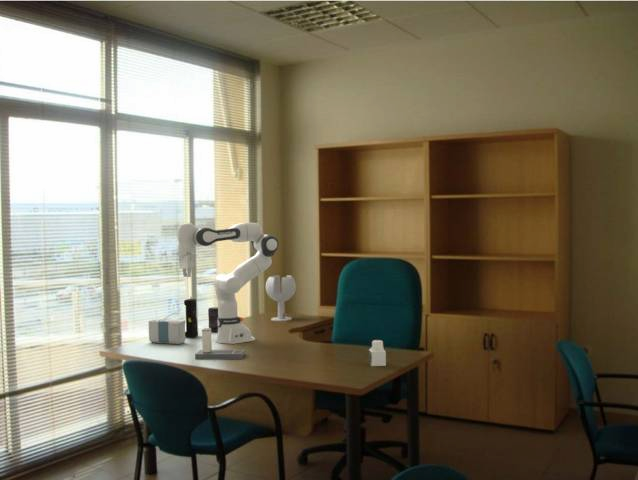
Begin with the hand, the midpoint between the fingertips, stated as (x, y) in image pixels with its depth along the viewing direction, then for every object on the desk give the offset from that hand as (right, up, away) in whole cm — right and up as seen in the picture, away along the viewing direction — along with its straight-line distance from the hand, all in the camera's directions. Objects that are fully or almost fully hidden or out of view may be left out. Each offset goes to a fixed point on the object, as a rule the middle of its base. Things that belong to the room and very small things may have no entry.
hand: (187, 276), depth 381 cm
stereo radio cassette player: (-14, -39, +13) cm, 43 cm away
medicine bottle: (+102, -40, -51) cm, 121 cm away
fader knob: (+16, -37, -27) cm, 49 cm away
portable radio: (-3, -38, +30) cm, 48 cm away
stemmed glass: (+48, -35, +89) cm, 107 cm away
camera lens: (+9, -37, +47) cm, 60 cm away
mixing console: (+23, -40, -28) cm, 54 cm away
